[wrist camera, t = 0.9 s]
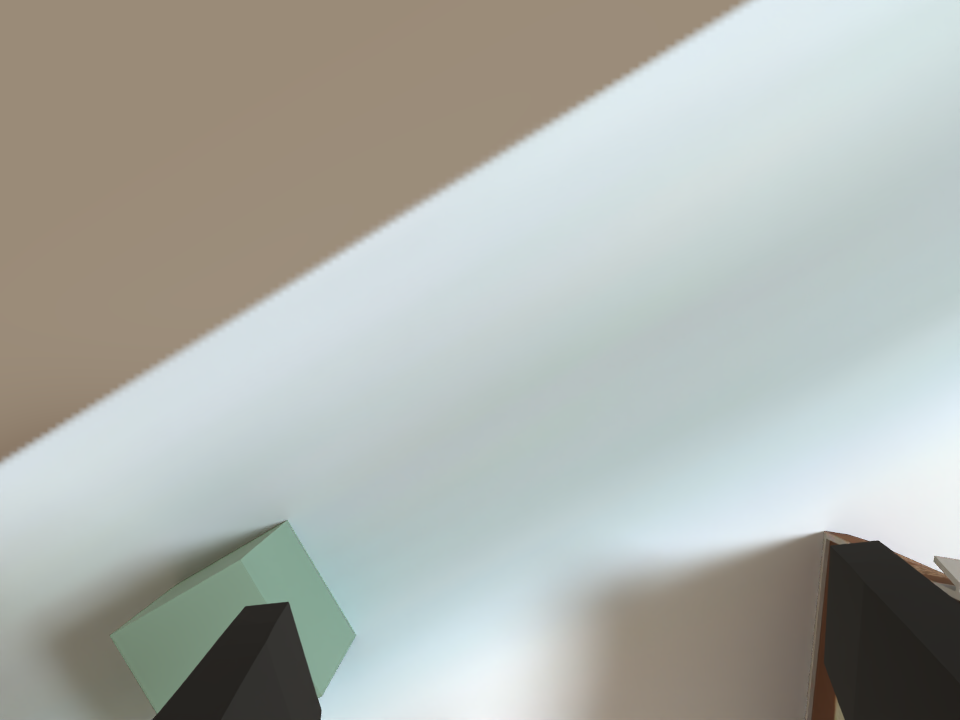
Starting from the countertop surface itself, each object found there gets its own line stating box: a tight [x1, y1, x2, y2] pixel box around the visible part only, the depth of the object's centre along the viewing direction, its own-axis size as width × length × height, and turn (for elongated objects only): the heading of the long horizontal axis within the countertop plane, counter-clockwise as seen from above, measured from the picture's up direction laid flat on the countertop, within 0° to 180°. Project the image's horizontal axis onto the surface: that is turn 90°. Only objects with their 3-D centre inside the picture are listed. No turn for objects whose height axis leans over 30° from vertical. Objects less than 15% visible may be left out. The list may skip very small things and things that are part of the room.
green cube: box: [110, 520, 356, 713], centre depth 29 cm, size 5×5×5 cm
